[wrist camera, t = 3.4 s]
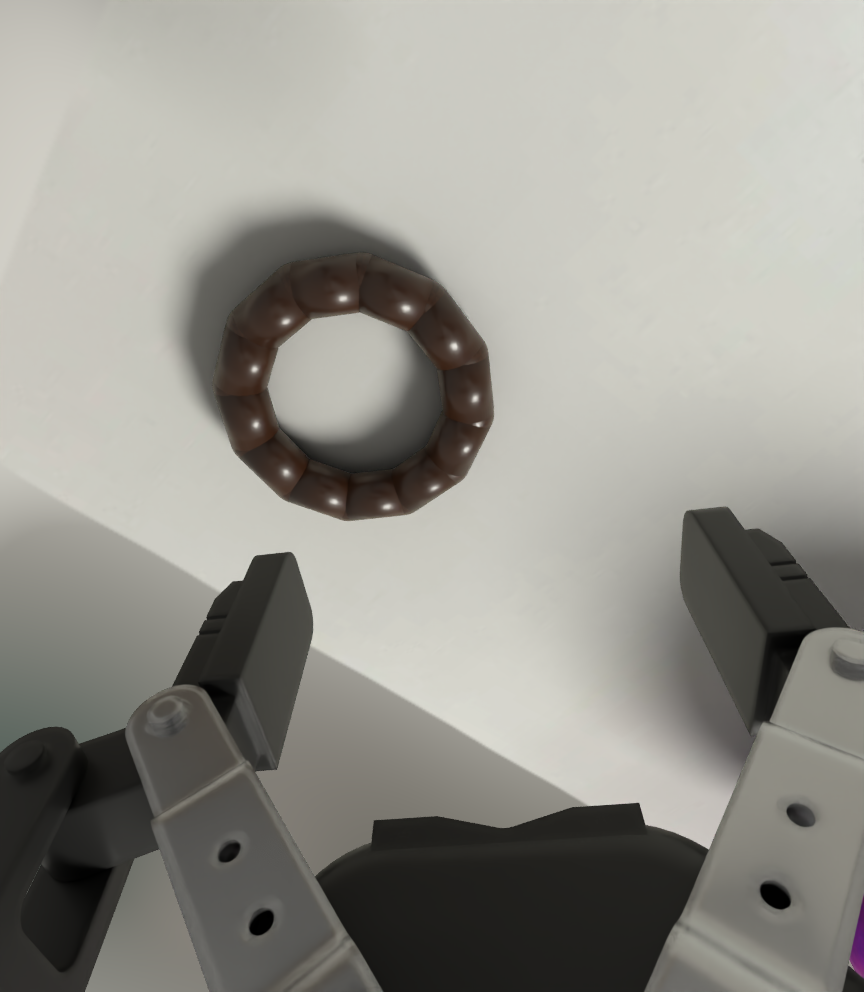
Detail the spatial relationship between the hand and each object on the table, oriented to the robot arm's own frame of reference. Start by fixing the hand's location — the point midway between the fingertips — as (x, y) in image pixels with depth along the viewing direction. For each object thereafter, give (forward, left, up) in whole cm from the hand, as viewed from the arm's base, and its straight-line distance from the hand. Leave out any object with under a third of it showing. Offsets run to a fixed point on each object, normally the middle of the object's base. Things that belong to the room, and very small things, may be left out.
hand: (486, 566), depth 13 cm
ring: (-4, 0, -10) cm, 11 cm away
